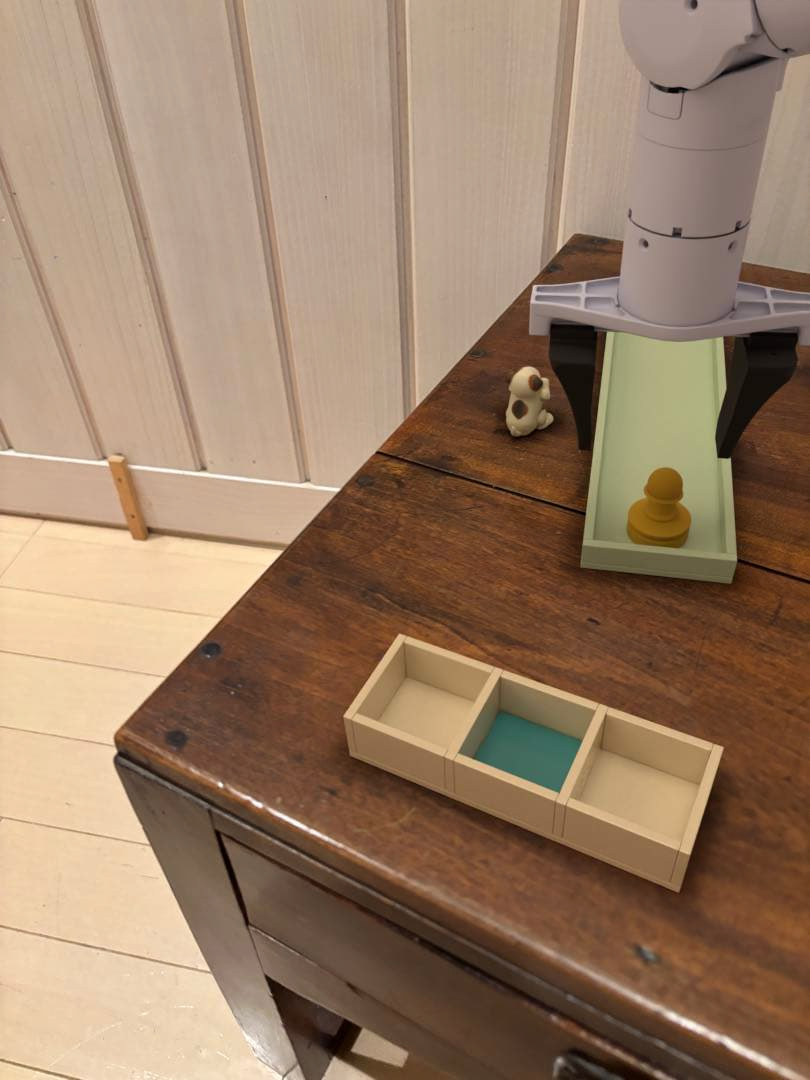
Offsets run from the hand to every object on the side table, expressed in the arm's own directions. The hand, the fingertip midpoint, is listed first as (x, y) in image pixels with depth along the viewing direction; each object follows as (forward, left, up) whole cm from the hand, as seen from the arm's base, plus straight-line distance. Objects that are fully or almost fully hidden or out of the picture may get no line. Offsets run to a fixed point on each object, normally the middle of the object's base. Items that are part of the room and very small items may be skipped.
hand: (652, 444), depth 53 cm
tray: (+5, -15, -9) cm, 18 cm away
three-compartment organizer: (-3, +18, -9) cm, 20 cm away
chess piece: (0, -2, -9) cm, 9 cm away
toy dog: (+14, -8, -9) cm, 18 cm away
